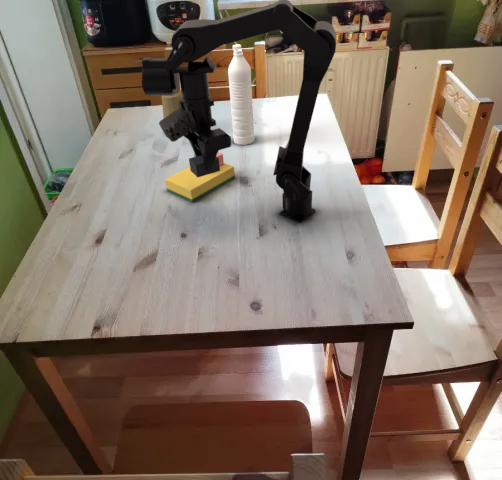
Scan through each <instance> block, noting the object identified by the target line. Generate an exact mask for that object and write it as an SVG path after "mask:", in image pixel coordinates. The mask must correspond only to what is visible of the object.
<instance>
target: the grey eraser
mask: <svg viewBox="0 0 502 480" xmlns="http://www.w3.org/2000/svg"><path fill="white" fill-rule="evenodd" d="M188 163H189V167H190V170H191V172H192V173H193V174H195V175H196V176H197V177H201V176H204V175H208V174H211V173H214V172H218V171H220V166H219V158H218V157H216V158H215V161H214V163H213V166H212V169H211V170H209V171H207V170H206V167H205V164H204V160H203V157H202V155H200V156H193V157H189V158H188Z"/></svg>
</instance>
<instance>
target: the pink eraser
mask: <svg viewBox="0 0 502 480" xmlns="http://www.w3.org/2000/svg"><path fill="white" fill-rule="evenodd" d="M216 157H218V158H219V166H222V165H224V163H225V162H224V154H223V153H221V152H220V151H218V153H217V155H216Z"/></svg>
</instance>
